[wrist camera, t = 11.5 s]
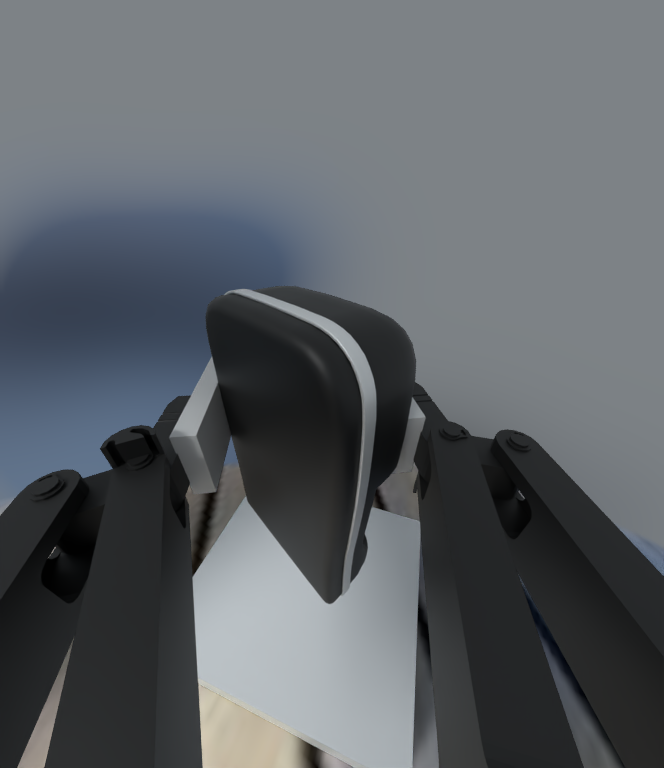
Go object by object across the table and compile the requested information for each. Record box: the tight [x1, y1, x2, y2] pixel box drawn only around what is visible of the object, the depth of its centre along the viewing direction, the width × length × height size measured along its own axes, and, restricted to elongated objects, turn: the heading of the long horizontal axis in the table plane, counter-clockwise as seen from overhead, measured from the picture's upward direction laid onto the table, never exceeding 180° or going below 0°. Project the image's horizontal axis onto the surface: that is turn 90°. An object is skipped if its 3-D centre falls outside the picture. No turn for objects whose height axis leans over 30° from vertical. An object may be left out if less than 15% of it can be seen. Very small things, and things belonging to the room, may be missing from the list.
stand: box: [192, 496, 421, 768], centre depth 19 cm, size 14×12×4 cm
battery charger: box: [206, 286, 416, 604], centre depth 11 cm, size 7×4×11 cm, turn 44°
